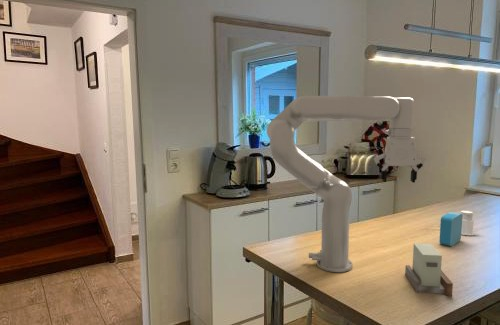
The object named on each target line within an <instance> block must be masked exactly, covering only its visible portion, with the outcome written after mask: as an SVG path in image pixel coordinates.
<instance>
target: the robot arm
mask: <svg viewBox="0 0 500 325" xmlns="http://www.w3.org/2000/svg"><path fill="white" fill-rule="evenodd" d="M414 106H415V101H414V99H413V98H412V97H393V96H351V95H303V96H299V97H296V98H295V99H293V100H292V101H291V102H289V104H288V105H287V106H286V107H285V108H283V110H281V112H279V113H278V114H277V115H276V116H275V117H273V119H272V120H270V122H269V123H268V125H267V127H266V134H267V136H268V139H269V148H270V153H271V156H272V157H273V159H274V160H275V162H276V163H277V164H278V165H279V166H280V167H282V168H283V169H284V170H285V171H287V172H288V174H290V175H291V176H292V177H294V178H295V179H296V180H297V181H298V182H299V183H300V184H301V185H303V186H305V187H306V188H308V189H309V190H311V191H312V192H313V193H314V194H316V195H317V196H318V197H320V198H321V199H322V200H323V204H322V211H321V212H322V213H321V248H320V251H319V252H308V259H311V260H312V261H316V265H317V267H318V268H319V269H321V270H323V271H325V272H331V273H345V272H348V271H350V270H352V269H353V262H352V261H351V260H350V259H349V248H350V246H349V243H350V242H349V238H350V211H351V206H352V200H353V194H352V190H351V189H352V188H351V187H350V185H348V184H347V182H345V180H342V179H341V178H338V177H337V176H336V175H334V174H332V173H331V172H330V171H328V170H327V169H326V168H324V167H323V165H322V164H321V163H320V162H318V161H316V160H315V159H312V158H311V157H310V156H309V155H307V154H306V153H305V152H303V151H302V150H301V149H300V148H299V147H298V146H297V145H296V143H295V131H297V129H298V128H299V127H300V126H301V125H302V124H303V123H304V122H346V121H347V122H348V121H349V122H350V121H363V120H364V121H369V120H370V121H371V120H372V121H373V120H375V121H376V120H377V121H378V120H380V121H381V120H382V121H383V120H385V121H387V120H388V121H389V128H388V129H385V130H384V134H385V135H388V136H387V137H386V141H385V145H384V146H385V147H384V152H383V153H381V154H379V155H377V156H375V157H374V158H373V160H374V162H375V164H376V166H377V168H379V169H380V170H381V171H380V172H381V173H380V180H382V182H384V183H386V182H387V173H388V172H387V169H388V168H389V167H410V168H411V171H410V181H411V182H412V183H416V181H417V178H418V177H417V176H418V171H419V170H420V169H421V168H423V165H425V163H426V161H427V159H426V157H423V156H422V155H419V154H417V145H416V139H415V136H413V128H414V127H413V126H414V110H415V109H414ZM382 159H383V164H381V162H380V160H382ZM417 160H419V162H418V163H417Z"/></svg>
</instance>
